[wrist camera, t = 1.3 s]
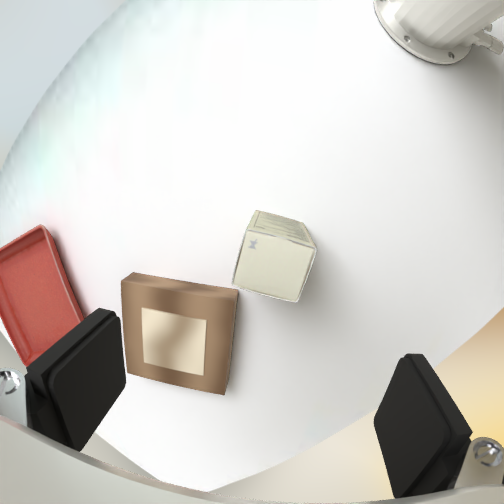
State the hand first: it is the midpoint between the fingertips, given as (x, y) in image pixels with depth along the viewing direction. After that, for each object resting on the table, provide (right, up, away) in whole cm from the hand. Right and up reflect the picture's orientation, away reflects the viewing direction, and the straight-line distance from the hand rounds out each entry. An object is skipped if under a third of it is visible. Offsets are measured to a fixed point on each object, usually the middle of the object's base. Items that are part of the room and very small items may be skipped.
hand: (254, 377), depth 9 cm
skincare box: (+2, +5, +22) cm, 22 cm away
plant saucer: (-30, -3, +27) cm, 40 cm away
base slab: (-8, -5, +25) cm, 27 cm away
